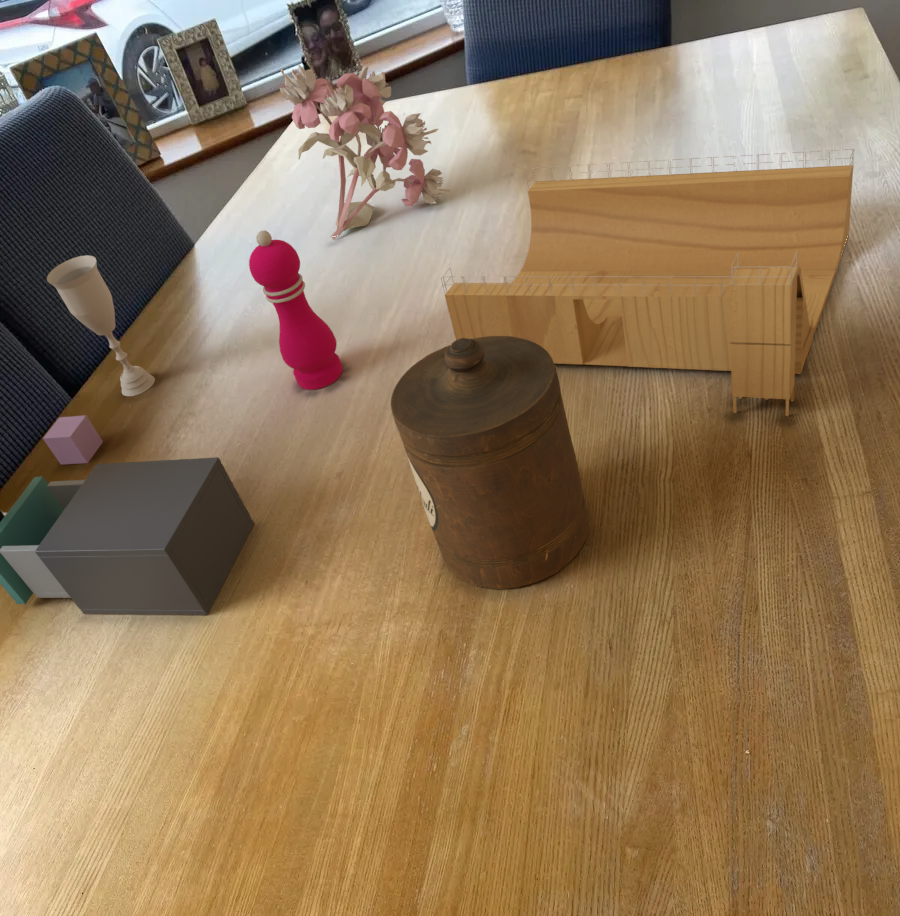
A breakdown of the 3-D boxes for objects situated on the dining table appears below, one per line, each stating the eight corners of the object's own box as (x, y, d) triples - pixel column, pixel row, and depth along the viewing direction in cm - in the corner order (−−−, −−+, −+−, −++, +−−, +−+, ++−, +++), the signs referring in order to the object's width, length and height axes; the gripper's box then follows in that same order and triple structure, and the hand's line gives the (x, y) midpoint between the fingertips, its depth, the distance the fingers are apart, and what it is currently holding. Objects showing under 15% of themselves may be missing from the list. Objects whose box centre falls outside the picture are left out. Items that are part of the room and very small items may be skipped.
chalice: (166, 384, 132) (102, 266, 119) (122, 407, 131) (52, 290, 118) (152, 364, 137) (89, 249, 124) (110, 386, 136) (41, 272, 123)
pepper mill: (286, 377, 125) (224, 235, 111) (334, 353, 126) (278, 209, 112) (305, 399, 120) (242, 254, 106) (354, 374, 121) (299, 227, 107)
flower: (389, 257, 138) (398, 62, 126) (272, 237, 148) (270, 54, 136) (460, 248, 153) (474, 73, 142) (350, 230, 163) (354, 66, 152)
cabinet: (83, 614, 101) (34, 551, 95) (138, 526, 110) (96, 463, 103) (207, 615, 96) (164, 549, 90) (254, 523, 105) (218, 456, 98)
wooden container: (471, 481, 100) (415, 297, 85) (606, 490, 94) (572, 292, 79) (419, 582, 92) (346, 397, 76) (564, 599, 86) (517, 401, 70)
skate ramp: (849, 244, 115) (858, 105, 104) (789, 416, 95) (792, 267, 84) (546, 249, 133) (526, 131, 122) (440, 394, 113) (405, 269, 101)
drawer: (-27, 603, 106) (-71, 555, 101) (29, 527, 114) (-9, 478, 109) (125, 604, 99) (87, 552, 94) (174, 523, 107) (141, 471, 102)
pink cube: (60, 464, 124) (42, 438, 121) (76, 443, 127) (59, 417, 124) (87, 463, 123) (70, 436, 120) (103, 441, 125) (86, 415, 122)
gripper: (-92, 361, 99) (8, 492, 112) (-185, 452, 89) (-63, 584, 102) (-37, 355, 96) (59, 489, 109) (-126, 448, 87) (-10, 583, 100)
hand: (0, 535), depth 106 cm, fingers closed
